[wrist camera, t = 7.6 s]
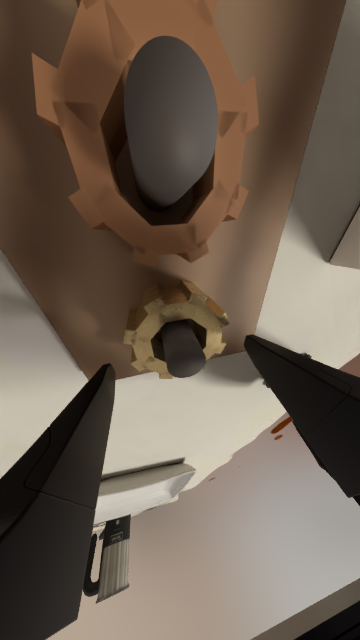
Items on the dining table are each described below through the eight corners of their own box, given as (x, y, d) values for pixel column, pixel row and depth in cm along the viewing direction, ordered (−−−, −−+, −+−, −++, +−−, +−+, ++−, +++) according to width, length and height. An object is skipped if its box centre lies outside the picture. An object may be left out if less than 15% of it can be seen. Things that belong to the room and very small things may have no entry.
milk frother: (127, 508, 53) (122, 592, 40) (139, 512, 61) (138, 582, 49) (88, 523, 51) (70, 615, 39) (106, 525, 60) (96, 600, 47)
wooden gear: (214, 274, 11) (234, 286, 9) (209, 344, 15) (223, 366, 13) (117, 287, 10) (108, 305, 8) (139, 359, 14) (138, 386, 12)
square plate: (85, 508, 42) (80, 531, 39) (77, 477, 30) (69, 507, 26) (171, 485, 51) (173, 502, 47) (194, 453, 38) (199, 473, 35)
